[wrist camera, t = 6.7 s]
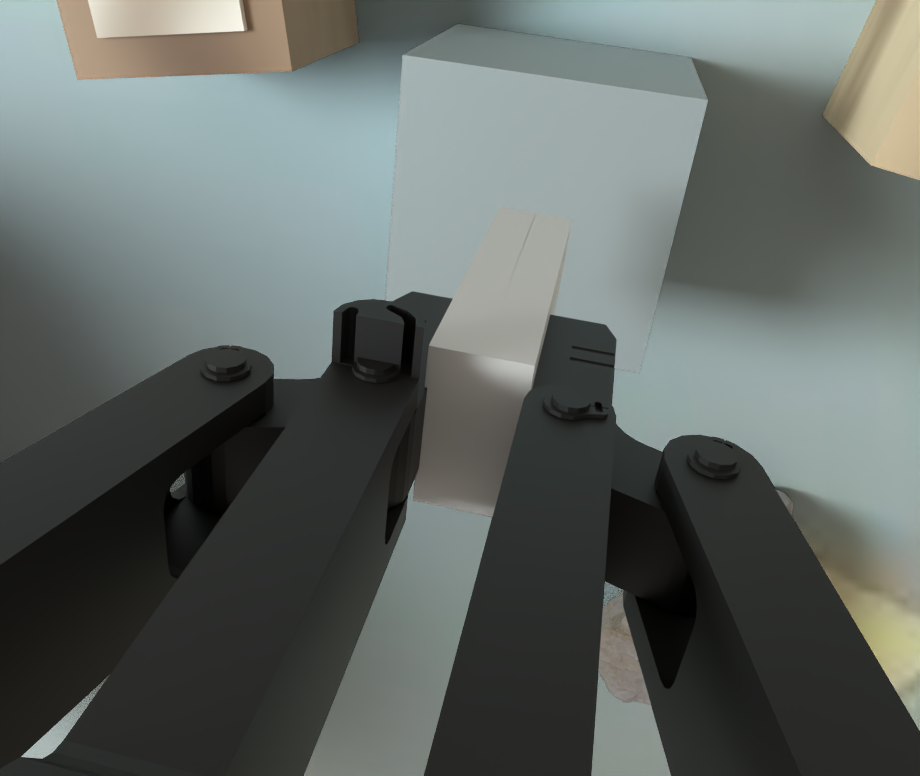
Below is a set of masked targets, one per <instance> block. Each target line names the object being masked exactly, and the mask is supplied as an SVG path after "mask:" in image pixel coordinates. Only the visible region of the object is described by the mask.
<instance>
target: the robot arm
mask: <svg viewBox="0 0 920 776" xmlns="http://www.w3.org/2000/svg"><path fill="white" fill-rule="evenodd" d="M571 223H572V219H570V218H564V217H558V216H552V215H546V214H541V213H535V212H529V211H523V210H517V209H511V208H505V207H500V208H499V210H498V212H497V214H496V216H495V218H494V220H493V222H492V224H491V226H490V228H489V230H488V232H487V233H486V235H485V237H484V239H483V241H482V243H481V245H480V247H479V249H478V251H477V253H476V255H475V257H474V259H473V261H472V263H471V264H470V266H469V268H468V270H467V272H466V274H465V276H464V278H463V280H462V282H461V284H460V286H459V288H458V290H457V292H456V294H455V296H454V297H453V299H452V298H447V297H441V296H436V295H430V294H425V293H419V292H414V291H412V292H410V293H408V294H406V295H404V296H402V297H400V298H398V299H395V300H394V301H385V300H375V299H371V300H357V301H353V302H350V303H346V304H343V305H341V306H340V307H339V308H337V309H336V310H334V317H333V344H332V362H331V364H330V365H329V367H328V368H327V369H326V371H325V372H324V374H323V375H322V376H321V378H316V379H300V380H299V379H274V364H273V363H272V362H271V361H270V359H269V358H268V357H267V356H265V355H263V354H261V353H259V352H257V351H255V350H251V349H247V348H242V347H240V346H231V347H229V346H218V347H214V348H208V349H203V350H200V351H198V352H195V353H193V354H190V355H188V356H186V357H185V358H183V359H181V360H179V361H178V362H176V363H174V364H172V365H171V366H169V367H167V368H165V369H164V370H162V371H160V372H158V373H157V374H155V375H153V376H152V377H150V378H148V379H146V380H145V381H143V382H141V383H139V384H138V385H136V386H134V387H132V388H131V389H129V390H127V391H125V392H124V393H122V394H120V395H118V396H117V397H115V398H113V399H111V400H110V401H108V402H106V403H105V404H103V405H101V406H99V407H98V408H96V409H94V410H92V411H91V412H89V413H87V414H85V415H84V416H82V417H80V418H78V419H77V420H75V421H73V422H71V423H70V424H68V425H66V426H64V427H63V428H61V429H59V430H58V431H56V432H54V433H52V434H51V435H49V436H47V437H45V438H44V439H42V440H40V441H38V442H37V443H35V444H33V445H31V446H30V447H28V448H26V449H24V450H23V451H21V452H19V453H18V454H16V455H14V456H12V457H11V458H9V459H7V460H5V461H4V462H2V463H0V776H304V773H305V771H306V768H307V766H308V763H309V761H310V758H311V756H312V753H313V751H314V748H315V746H316V743H317V740H318V738H319V735H320V733H321V730H322V728H323V725H324V723H325V720H326V718H327V715H328V713H329V710H330V708H331V705H332V703H333V700H334V698H335V695H336V693H337V690H338V688H339V685H340V683H341V680H342V678H343V675H344V673H345V670H346V668H347V665H348V663H349V660H350V658H351V655H352V653H353V650H354V648H355V645H356V643H357V640H358V638H359V635H360V633H361V630H362V628H363V625H364V623H365V620H366V618H367V615H368V613H369V610H370V608H371V605H372V603H373V600H374V598H375V595H376V593H377V590H378V588H379V585H380V583H381V580H382V578H383V575H384V573H385V570H386V568H387V565H388V563H389V560H390V558H391V555H392V553H393V550H394V548H395V545H396V543H397V540H398V538H399V535H400V533H401V530H402V528H403V525H404V523H405V519H406V509H407V499H408V493H409V490H410V488H411V486H412V483H413V481H414V479H415V484H414V493H413V500H414V501H418V502H423V503H428V504H433V505H437V506H442V507H447V508H451V509H456V510H461V511H465V512H470V513H475V514H479V515H484V516H489V517H492V521H491V525H490V528H489V532H488V536H487V540H486V543H485V547H484V551H483V555H482V558H481V562H480V566H479V570H478V574H477V577H476V581H475V585H474V589H473V592H472V596H471V600H470V604H469V608H468V611H467V615H466V619H465V623H464V626H463V630H462V634H461V638H460V641H459V645H458V649H457V653H456V657H455V660H454V664H453V668H452V672H451V675H450V679H449V683H448V687H447V690H446V694H445V698H444V702H443V706H442V709H441V713H440V717H439V721H438V724H437V728H436V732H435V736H434V739H433V743H432V747H431V751H430V755H429V758H428V762H427V766H426V770H425V773H424V776H591V770H592V756H593V742H594V727H595V713H596V699H597V684H598V670H599V656H600V641H601V627H602V612H603V598H604V584H605V581H606V582H608V583H610V584H612V585H614V586H616V587H619V588H621V589H623V590H624V591H623V608H624V611H625V615H626V618H627V622H628V625H629V629H630V632H631V636H632V639H633V643H634V646H635V650H636V653H637V657H638V660H639V664H640V667H641V671H642V674H643V678H644V681H645V685H646V688H647V692H648V695H649V699H650V703H651V706H652V710H653V713H654V717H655V720H656V724H657V727H658V731H659V734H660V738H661V741H662V745H663V748H664V752H665V755H666V759H667V762H668V766H669V769H670V773H671V776H920V731H919V729H918V728H917V726H916V724H915V723H914V721H913V719H912V717H911V716H910V714H909V712H908V711H907V709H906V707H905V706H904V704H903V702H902V701H901V699H900V697H899V696H898V694H897V692H896V691H895V689H894V687H893V686H892V684H891V682H890V681H889V679H888V677H887V675H886V674H885V672H884V670H883V669H882V667H881V665H880V664H879V662H878V660H877V659H876V657H875V655H874V654H873V652H872V650H871V649H870V647H869V645H868V644H867V642H866V640H865V639H864V637H863V635H862V633H861V632H860V630H859V628H858V627H857V625H856V623H855V622H854V620H853V618H852V617H851V615H850V613H849V612H848V610H847V608H846V607H845V605H844V603H843V602H842V600H841V598H840V597H839V595H838V593H837V591H836V590H835V588H834V586H833V585H832V583H831V581H830V580H829V578H828V576H827V575H826V573H825V571H824V570H823V568H822V566H821V565H820V563H819V561H818V560H817V558H816V556H815V555H814V553H813V551H812V549H811V548H810V546H809V544H808V543H807V541H806V539H805V538H804V536H803V534H802V533H801V531H800V529H799V528H798V526H797V524H796V523H795V521H794V519H793V518H792V516H791V514H790V513H789V511H788V509H787V507H786V506H785V504H784V502H783V501H782V499H781V497H780V496H779V494H778V492H777V491H776V489H775V487H774V486H773V484H772V482H771V481H770V479H769V477H768V476H767V474H766V472H765V471H764V469H763V467H762V466H761V465H760V463H759V462H758V461H757V460H756V459H755V458H754V457H753V456H752V455H751V454H750V453H748V452H746V451H745V450H743V449H742V448H740V447H739V446H737V445H735V444H734V443H731V442H729V441H727V440H726V441H724V439H721V438H717V437H709V436H703V435H686V436H680V437H678V438H675V439H673V440H670V441H669V443H668V444H667V445H666V447H665V448H664V450H663V452H661V451H659V450H656V449H654V448H651V447H649V446H647V445H645V444H643V443H640V442H638V441H636V440H635V439H633V438H632V437H630V436H629V435H627V434H626V433H624V432H623V431H622V430H621V429H620V428H619V427H618V426H617V424H616V415H615V411H614V408H613V406H612V395H613V382H614V366H615V354H616V341H617V339H616V338H615V336H614V335H613V334H612V332H611V331H610V330H609V328H608V327H607V325H605V324H600V323H594V322H589V321H583V320H578V319H573V318H567V317H562V316H556V315H554V314H555V309H556V304H557V298H558V293H559V287H560V282H561V277H562V271H563V266H564V260H565V255H566V250H567V244H568V239H569V233H570V228H571ZM183 473H184V476H185V484H184V485H183V486H181V487H180V488H179V489H177V490H176V491H174V492H172V493H170V487H171V485H172V484H173V483H174V482H175V481H176V480H177V479H178V478H179V476H180V475H181V474H183ZM109 675H110V676H109ZM107 676H109V677H108V678H107V680H106V681H105V683H104V684H103V685H102V687H101V688H100V690H99V691H98V692H97V694H96V695H95V697H94V698H93V700H92V701H91V702H90V704H89V705H88V707H87V708H86V709H85V711H84V712H83V714H82V715H81V716H80V718H79V719H78V721H77V722H76V724H75V725H74V726H73V728H72V729H71V731H70V732H69V733H68V735H67V736H66V738H65V739H64V740H63V742H62V743H61V744H60V745H59V746H58V747H57V748H56V750H55V751H54V752H53V753H51V754H50V755H48V756H46V757H45V758H43V759H37V758H25V757H21V756H22V755H23V754H24V753H25V752H26V751H28V750H29V749H30V748H31V747H32V746H33V745H34V744H35V743H36V742H37V741H38V740H39V739H40V738H42V737H43V736H44V735H45V734H46V733H47V732H48V731H49V730H50V729H51V728H52V727H53V726H55V725H56V724H57V723H58V722H59V721H60V720H61V719H62V718H63V717H64V716H65V715H66V714H67V713H69V712H70V711H71V710H72V709H73V708H74V707H75V706H76V705H77V704H78V703H79V702H80V701H82V700H83V699H84V698H85V697H86V696H87V695H88V694H89V693H90V692H91V691H92V690H93V689H95V688H96V687H97V686H98V685H99V684H100V683H101V682H102V681H103V680H104V679H105V678H106V677H107Z"/></svg>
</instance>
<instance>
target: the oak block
mask: <svg viewBox="0 0 920 776" xmlns="http://www.w3.org/2000/svg"><path fill="white" fill-rule="evenodd" d="M822 116H823V117H824V118H825V119H826V120H827V121H828V122H829V123H830V124H831V125H832V126H833V127H834V128H835V129H836V130H837V131H838V132H839V133H840V134H841V135H842V136H843V137H844V138H845V139H846V140H847V141H848V142H849V143H850V144H851V146H852V147H853V148H854V149H855V150H856V151H857V152H858V153H859V154H860V155H861V156H862V157H863V158H864V159H865V160H866V161H867V162H868V163H869V164H870V165H871V166H874V167H878V168H881V169H884V170H888V171H891V172H894V173H897V174H901V175H904V176H907V177H911V178H914V179H917V180H920V0H876V2H875V4H874V6H873V8H872V11H871V13H870V15H869V17H868V19H867V21H866V23H865V25H864V28H863V30H862V32H861V34H860V36H859V38H858V40H857V42H856V44H855V47H854V49H853V51H852V53H851V55H850V57H849V59H848V61H847V64H846V66H845V68H844V70H843V72H842V74H841V76H840V78H839V81H838V83H837V85H836V87H835V89H834V91H833V93H832V95H831V97H830V100H829V102H828V104H827V106H826V108H825V110H824V112H823V114H822Z"/></svg>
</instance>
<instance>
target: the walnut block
mask: <svg viewBox="0 0 920 776" xmlns="http://www.w3.org/2000/svg"><path fill="white" fill-rule="evenodd" d="M57 4H58V8H59V12H60V15H61V19H62V23H63V27H64V31H65V34H66V38H67V42H68V46H69V50H70V53H71V57H72V61H73V65H74V69H75V72H76V76H77V80H80V79H106V78H133V77H159V76H185V75H212V74H238V73H264V72H291V71H294V70H297V69H299V68H301V67H303V66H306V65H308V64H310V63H313V62H315V61H317V60H320V59H322V58H324V57H327V56H329V55H331V54H334V53H336V52H338V51H341V50H343V49H345V48H348V47H350V46H352V45H355V44H357V43H359V33H358V24H357V15H356V6H355V0H57Z"/></svg>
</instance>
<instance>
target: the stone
mask: <svg viewBox="0 0 920 776" xmlns="http://www.w3.org/2000/svg"><path fill="white" fill-rule="evenodd" d="M776 491H777V492H778V494H779V496H780V497H781V499H782V501H783V502H784V504H785V506H786V507H787V509H788V511H789V513H790V514H791V516H792V512H793V503H792V501H791V500H790V499H789V497H788V496H787V495H786V494H785V493H783V492H781V491H779V490H776ZM623 591H624V590H623ZM623 591H622V592H621V594H620V596H618V597H615V598H612V599H611V600H610V601H609V603H608V604H607V605H605V606H604V607H603V612H602V627H601V641H600V656H599V670H598V671H599V674H600V676H601V677H602V678H603V680H604V681H605V683H606V686H607V688H608V690H609V692H610V693H611V694H613V695H614V696H615V697H617V698H618V699H620V700H621V701H623V702H632V701H638V702H641V703H645V704H649V705H651V703H650V699H649V695H648V692H647V688H646V685H645V681H644V678H643V674H642V671H641V667H640V664H639V660H638V657H637V653H636V650H635V646H634V643H633V639H632V636H631V632H630V629H629V625H628V622H627V618H626V615H625V611H624V608H623Z"/></svg>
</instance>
